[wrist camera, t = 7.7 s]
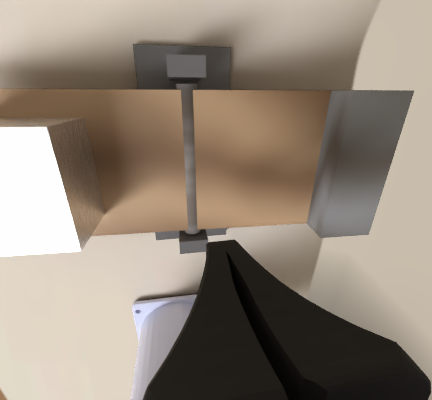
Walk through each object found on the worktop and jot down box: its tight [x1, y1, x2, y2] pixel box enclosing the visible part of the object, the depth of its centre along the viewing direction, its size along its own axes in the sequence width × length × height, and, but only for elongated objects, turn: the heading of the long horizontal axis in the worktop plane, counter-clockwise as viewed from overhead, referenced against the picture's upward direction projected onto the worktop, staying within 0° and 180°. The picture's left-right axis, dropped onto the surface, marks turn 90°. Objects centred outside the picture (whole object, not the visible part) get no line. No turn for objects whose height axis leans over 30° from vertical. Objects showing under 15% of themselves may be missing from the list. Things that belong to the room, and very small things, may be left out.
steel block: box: [0, 117, 105, 256], centre depth 12 cm, size 6×5×4 cm
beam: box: [0, 84, 414, 238], centre depth 15 cm, size 10×26×3 cm, turn 89°
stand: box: [133, 44, 231, 254], centre depth 16 cm, size 14×6×4 cm, turn 179°
